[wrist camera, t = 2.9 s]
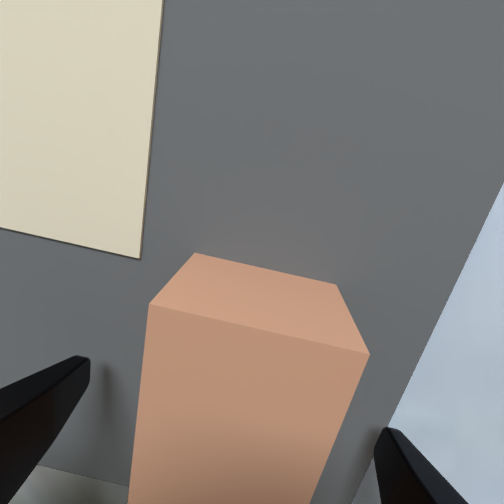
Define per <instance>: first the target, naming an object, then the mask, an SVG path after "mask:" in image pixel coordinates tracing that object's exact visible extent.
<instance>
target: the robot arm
mask: <svg viewBox="0 0 504 504" xmlns="http://www.w3.org/2000/svg"><path fill="white" fill-rule="evenodd" d="M90 370H91V360H90V358H88V357H84V356H79V355H75V356H72V357H70V358H68V359H65V360H63V361H61V362H59V363H56V364H54V365H52V366H50V367H47V368H45V369H43V370H41V371H38V372H36V373H34V374H32V375H29V376H27V377H25V378H23V379H20V380H18V381H16V382H14V383H11V384H9V385H7V386H5V387H3V388H0V504H8V503H9V502H10V500H11V499H12V498H13V496H14V495H15V494H16V492H17V491H18V490H19V488H20V487H21V486H22V484H23V483H24V482H25V480H26V479H27V478H28V476H29V475H30V474H31V472H32V471H33V469H34V468H35V467H36V465H37V464H38V463H39V461H40V460H41V459H42V457H43V456H44V455H45V453H46V452H47V451H48V449H49V448H50V447H51V445H52V444H53V442H54V441H55V439H56V438H57V436H58V435H59V433H60V432H61V430H62V428H63V427H64V425H65V423H66V422H67V420H68V419H69V417H70V415H71V414H72V412H73V410H74V409H75V407H76V406H77V404H78V402H79V401H80V399H81V397H82V396H83V394H84V393H85V391H86V389H87V388H88V385H89V382H90ZM373 454H374V461H375V467H376V473H377V480H378V486H379V492H380V498H381V504H468V503H467V502H466V501H465V500H464V498H463V497H462V496H461V495H460V494H459V493H458V492H457V491H456V490H455V489H454V488H453V487H452V486H451V485H450V483H449V482H448V481H447V480H446V479H445V478H444V477H443V476H442V475H441V474H440V473H439V472H438V471H437V470H436V468H435V467H434V466H433V465H432V464H431V463H430V462H429V461H428V460H427V459H426V458H425V457H424V456H423V455H422V453H421V452H420V451H419V450H418V449H417V448H416V447H415V446H414V445H413V444H412V443H411V442H410V441H409V440H408V439H407V437H406V436H405V435H404V434H403V433H402V432H401V431H399V430H398V429H394V428H389V427H384V428H383V429H382V431H381V433H380V435H379V437H378V439H377V441H376V444H375V446H374V451H373Z"/></svg>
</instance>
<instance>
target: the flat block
mask: <svg viewBox="0 0 504 504" xmlns="http://www.w3.org/2000/svg"><path fill="white" fill-rule="evenodd" d="M369 356H370V353H369V351H368V349H367V347H366V345H365V343H364V341H363V339H362V337H361V335H360V333H359V331H358V329H357V326H356V324H355V322H354V320H353V318H352V316H351V314H350V312H349V310H348V308H347V306H346V304H345V302H344V300H343V298H342V296H341V294H340V292H339V289H338V287H337V285H336V284H331V283H327V282H322V281H318V280H314V279H309V278H305V277H300V276H296V275H291V274H287V273H283V272H278V271H274V270H269V269H265V268H260V267H256V266H252V265H247V264H243V263H238V262H234V261H229V260H225V259H221V258H216V257H212V256H207V255H203V254H198V253H194V254H193V255H192V256H191V257H190V258H189V260H188V261H187V262H186V263H185V264H184V265H183V266H182V267H181V268H180V270H179V271H178V272H177V273H176V274H175V275H174V276H173V277H172V279H171V280H170V281H169V282H168V283H167V284H166V285H165V286H164V287H163V289H162V290H161V291H160V292H159V293H158V294H157V295H156V296H155V297H154V299H153V300H152V301H151V302H150V303H149V307H148V317H147V326H146V335H145V345H144V354H143V364H142V373H141V382H140V392H139V401H138V411H137V420H136V429H135V439H134V448H133V457H132V467H131V476H130V486H129V495H128V504H309V503H310V501H311V498H312V496H313V493H314V491H315V488H316V486H317V483H318V481H319V479H320V476H321V474H322V471H323V469H324V466H325V464H326V461H327V459H328V456H329V454H330V452H331V449H332V447H333V444H334V442H335V439H336V437H337V434H338V432H339V429H340V427H341V425H342V422H343V420H344V417H345V415H346V412H347V410H348V407H349V405H350V402H351V400H352V398H353V395H354V393H355V390H356V388H357V385H358V383H359V380H360V378H361V375H362V373H363V370H364V368H365V366H366V363H367V361H368V358H369Z"/></svg>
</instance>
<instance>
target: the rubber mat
mask: <svg viewBox="0 0 504 504" xmlns="http://www.w3.org/2000/svg"><path fill="white" fill-rule="evenodd" d="M503 183H504V0H0V388H3V387H5V386H7V385H9V384H11V383H14V382H16V381H18V380H20V379H23V378H25V377H27V376H29V375H32V374H34V373H36V372H38V371H41V370H43V369H45V368H47V367H50V366H52V365H54V364H56V363H59V362H61V361H63V360H65V359H68V358H70V357H72V356H75V355H79V356H84V357H88V358H90V360H91V370H90V382H89V385H88V388H87V389H86V391H85V393H84V394H83V396H82V397H81V399H80V401H79V402H78V404H77V406H76V407H75V409H74V410H73V412H72V414H71V415H70V417H69V419H68V420H67V422H66V423H65V425H64V427H63V428H62V430H61V432H60V433H59V435H58V436H57V438H56V439H55V441H54V442H53V444H52V445H51V447H50V448H49V449H48V451H47V452H46V453H45V455H44V456H43V457H42V459H41V460H40V461H39V463H38V464H37V465H41V466H45V467H49V468H53V469H57V470H62V471H66V472H70V473H74V474H78V475H83V476H87V477H91V478H95V479H99V480H104V481H108V482H112V483H116V484H121V485H125V486H130V476H131V467H132V457H133V448H134V439H135V429H136V420H137V411H138V401H139V392H140V382H141V373H142V364H143V354H144V345H145V335H146V326H147V317H148V307H149V303H150V302H151V301H152V300H153V299H154V297H155V296H156V295H157V294H158V293H159V292H160V291H161V290H162V289H163V287H164V286H165V285H166V284H167V283H168V282H169V281H170V280H171V279H172V277H173V276H174V275H175V274H176V273H177V272H178V271H179V270H180V268H181V267H182V266H183V265H184V264H185V263H186V262H187V261H188V260H189V258H190V257H191V256H192V255H193V254H194V253H198V254H203V255H207V256H212V257H216V258H221V259H225V260H229V261H234V262H238V263H243V264H247V265H252V266H256V267H260V268H265V269H269V270H274V271H278V272H283V273H287V274H291V275H296V276H300V277H305V278H309V279H314V280H318V281H322V282H327V283H331V284H336V285H337V287H338V289H339V292H340V294H341V296H342V298H343V300H344V302H345V304H346V306H347V308H348V310H349V312H350V314H351V316H352V318H353V320H354V322H355V324H356V326H357V329H358V331H359V333H360V335H361V337H362V339H363V341H364V343H365V345H366V347H367V349H368V351H369V353H370V356H369V358H368V361H367V363H366V366H365V368H364V370H363V373H362V375H361V378H360V380H359V383H358V385H357V388H356V390H355V393H354V395H353V398H352V400H351V402H350V405H349V407H348V410H347V412H346V415H345V417H344V420H343V422H342V425H341V427H340V429H339V432H338V434H337V437H336V439H335V442H334V444H333V447H332V449H331V452H330V454H329V456H328V459H327V461H326V464H325V466H324V469H323V471H322V474H321V476H320V479H319V481H318V483H317V486H316V488H315V491H314V493H313V496H312V498H311V501H310V503H309V504H351V502H352V500H353V498H354V496H355V494H356V492H357V490H358V487H359V485H360V483H361V481H362V479H363V477H364V475H365V473H366V471H367V469H368V466H369V464H370V462H371V460H372V458H373V456H374V454H373V451H374V446H375V444H376V441H377V439H378V437H379V435H380V433H381V431H382V429H383V428H384V427H387V426H388V424H389V422H390V420H391V418H392V416H393V414H394V412H395V410H396V408H397V405H398V403H399V401H400V399H401V397H402V395H403V393H404V391H405V389H406V387H407V384H408V382H409V380H410V378H411V376H412V374H413V372H414V370H415V368H416V365H417V363H418V361H419V359H420V357H421V355H422V353H423V351H424V349H425V347H426V344H427V342H428V340H429V338H430V336H431V334H432V332H433V330H434V328H435V326H436V323H437V321H438V319H439V317H440V315H441V313H442V311H443V309H444V307H445V305H446V302H447V300H448V298H449V296H450V294H451V292H452V290H453V288H454V286H455V283H456V281H457V279H458V277H459V275H460V273H461V271H462V269H463V267H464V265H465V262H466V260H467V258H468V256H469V254H470V252H471V250H472V248H473V246H474V244H475V241H476V239H477V237H478V235H479V233H480V231H481V229H482V227H483V225H484V223H485V220H486V218H487V216H488V214H489V212H490V210H491V208H492V206H493V204H494V201H495V199H496V197H497V195H498V193H499V191H500V189H501V187H502V185H503Z"/></svg>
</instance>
